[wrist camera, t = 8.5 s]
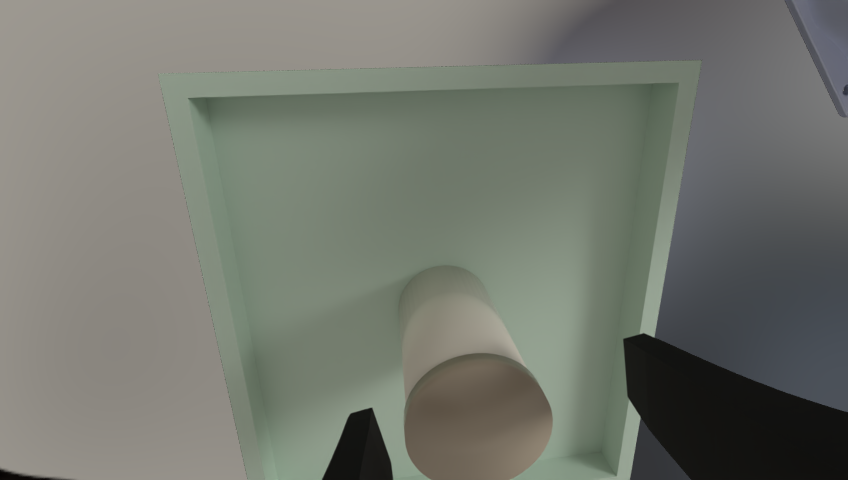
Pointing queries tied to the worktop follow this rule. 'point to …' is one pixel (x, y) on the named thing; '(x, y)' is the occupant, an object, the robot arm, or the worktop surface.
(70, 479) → the worktop surface
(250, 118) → the tray
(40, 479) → the worktop surface
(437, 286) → the spice pot
